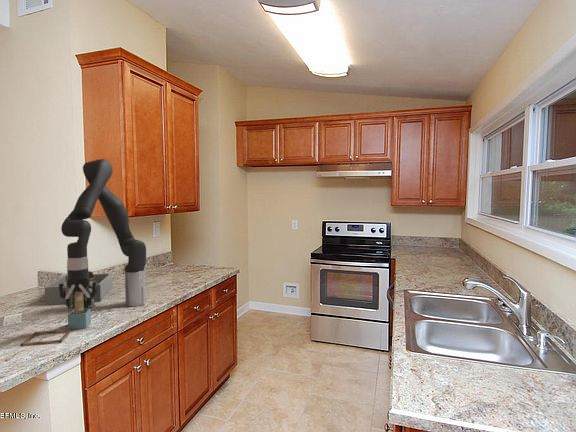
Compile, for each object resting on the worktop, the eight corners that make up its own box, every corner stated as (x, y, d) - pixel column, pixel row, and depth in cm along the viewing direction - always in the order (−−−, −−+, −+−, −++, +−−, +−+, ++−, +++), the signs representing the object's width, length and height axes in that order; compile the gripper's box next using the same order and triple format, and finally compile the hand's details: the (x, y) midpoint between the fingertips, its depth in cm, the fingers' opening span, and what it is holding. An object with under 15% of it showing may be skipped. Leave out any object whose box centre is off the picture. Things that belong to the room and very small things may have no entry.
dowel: (85, 324, 146) (84, 292, 145) (82, 327, 143) (81, 294, 142) (77, 324, 145) (75, 292, 144) (74, 327, 142) (73, 294, 141)
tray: (71, 332, 139) (71, 329, 139) (61, 344, 128) (61, 340, 128) (35, 335, 136) (34, 332, 136) (21, 348, 125) (20, 343, 125)
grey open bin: (112, 288, 204) (112, 273, 203) (100, 301, 179) (100, 284, 178) (64, 290, 197) (64, 275, 197) (45, 304, 173) (44, 287, 172)
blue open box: (91, 324, 148) (90, 308, 148) (86, 330, 142) (85, 313, 141) (74, 325, 147) (73, 309, 146) (68, 331, 140) (67, 315, 140)
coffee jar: (69, 308, 168) (67, 271, 167) (84, 303, 175) (83, 268, 174) (82, 311, 164) (81, 273, 163) (97, 306, 171) (96, 269, 170)
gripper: (99, 264, 148) (100, 302, 149) (61, 266, 144) (63, 304, 146) (94, 268, 141) (95, 308, 142) (54, 270, 137) (56, 310, 138)
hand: (79, 306), depth 144 cm, fingers open, 6 cm apart
